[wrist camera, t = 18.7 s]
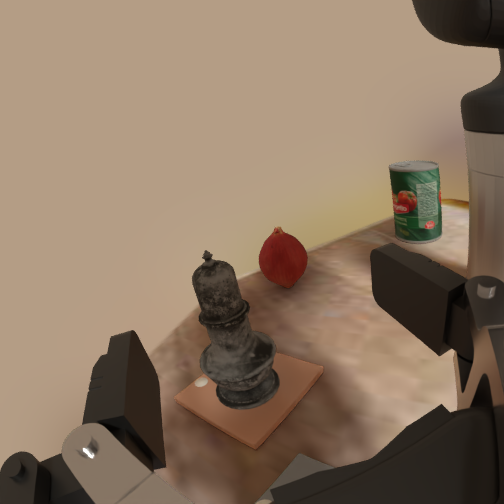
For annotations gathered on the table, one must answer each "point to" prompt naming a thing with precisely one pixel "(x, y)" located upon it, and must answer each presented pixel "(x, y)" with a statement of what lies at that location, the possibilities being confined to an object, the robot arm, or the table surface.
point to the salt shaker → (233, 340)
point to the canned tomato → (416, 201)
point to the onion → (282, 258)
